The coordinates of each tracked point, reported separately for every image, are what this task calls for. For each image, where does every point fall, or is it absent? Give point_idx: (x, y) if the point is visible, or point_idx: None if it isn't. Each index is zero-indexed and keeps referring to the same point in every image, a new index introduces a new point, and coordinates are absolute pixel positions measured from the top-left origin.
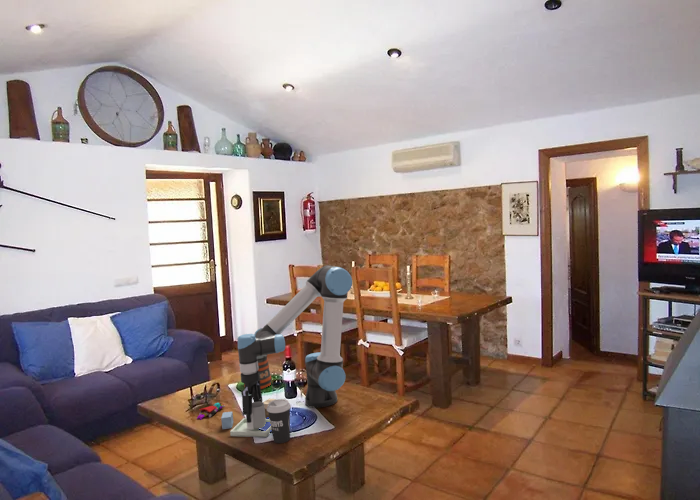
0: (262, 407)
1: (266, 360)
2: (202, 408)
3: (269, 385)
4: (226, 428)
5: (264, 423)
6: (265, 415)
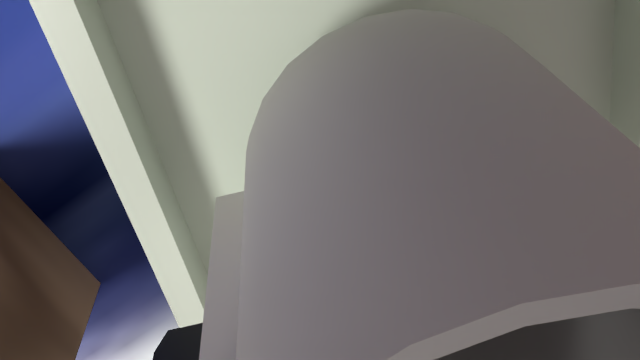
0: (614, 235)
1: None
2: None
3: None
4: None
5: (411, 19)
6: (12, 263)
